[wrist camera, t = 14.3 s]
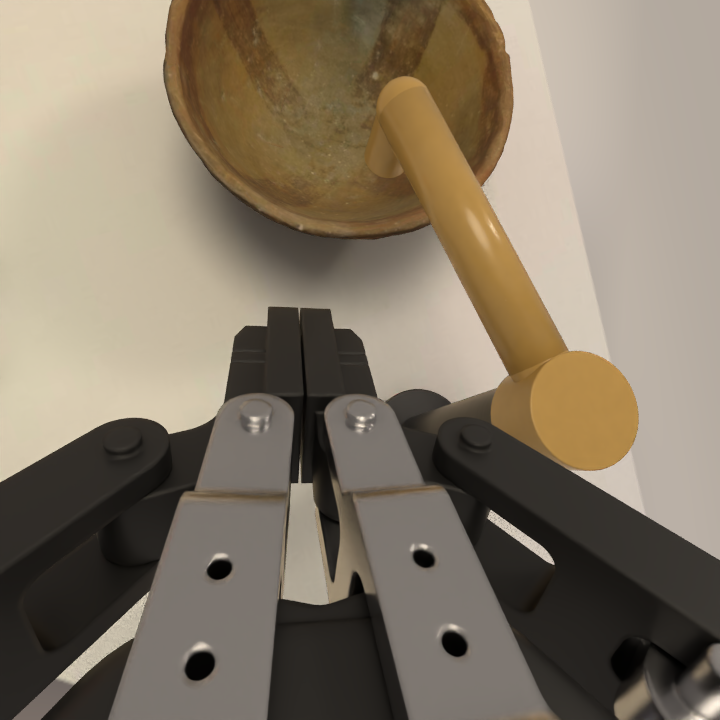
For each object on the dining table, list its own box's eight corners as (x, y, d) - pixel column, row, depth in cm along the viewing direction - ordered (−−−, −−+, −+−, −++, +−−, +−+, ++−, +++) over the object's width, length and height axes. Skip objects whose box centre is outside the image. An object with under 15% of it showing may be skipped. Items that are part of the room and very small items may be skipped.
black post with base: (449, 384, 36) (585, 322, 21) (471, 477, 35) (633, 488, 19) (360, 400, 35) (432, 346, 19) (379, 498, 34) (473, 528, 18)
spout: (579, 443, 20) (659, 438, 16) (503, 486, 20) (567, 492, 15) (412, 126, 22) (445, 47, 18) (335, 151, 21) (351, 73, 17)
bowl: (509, 146, 42) (579, 52, 32) (361, 349, 36) (394, 306, 26) (306, -6, 41) (316, -147, 32) (120, 172, 35) (63, 63, 26)
